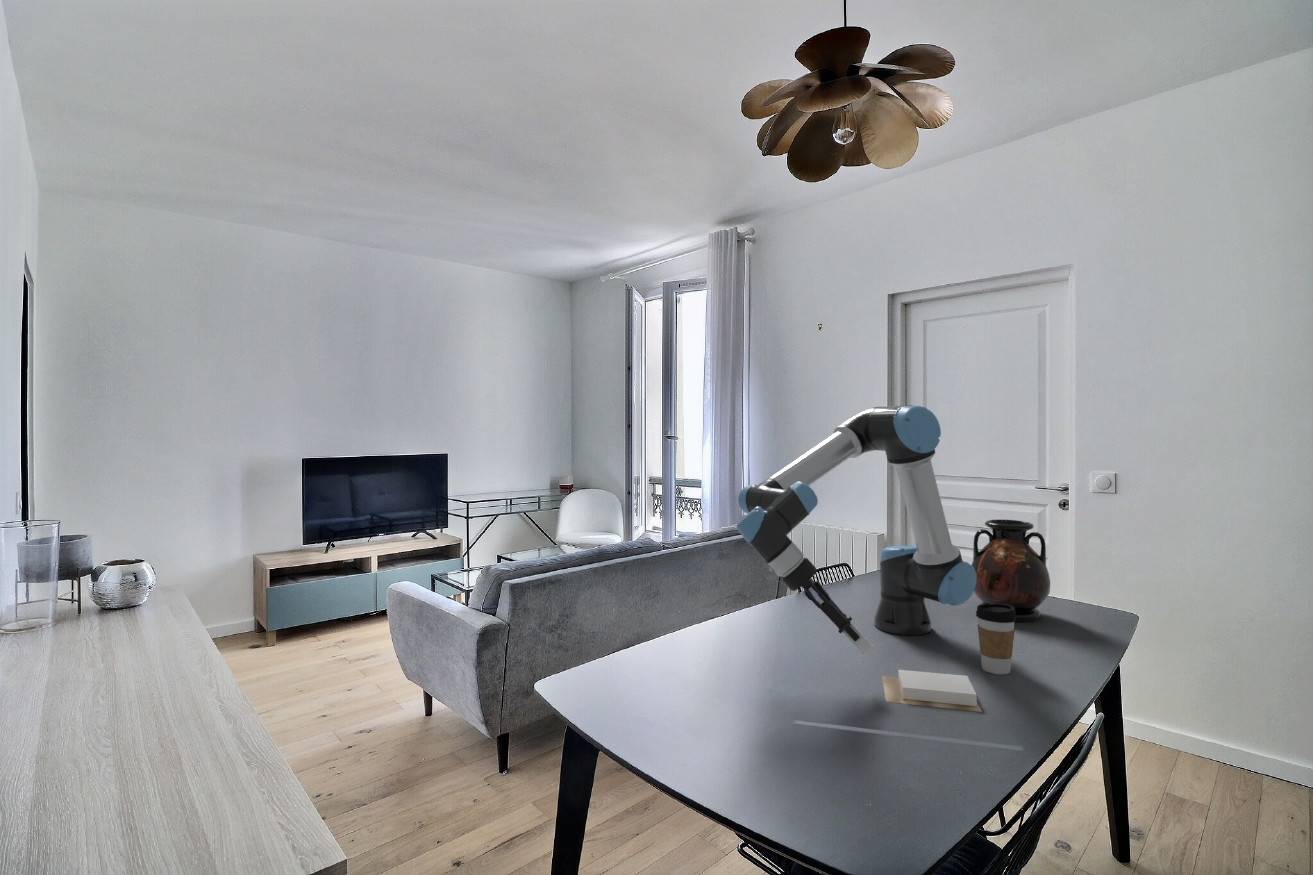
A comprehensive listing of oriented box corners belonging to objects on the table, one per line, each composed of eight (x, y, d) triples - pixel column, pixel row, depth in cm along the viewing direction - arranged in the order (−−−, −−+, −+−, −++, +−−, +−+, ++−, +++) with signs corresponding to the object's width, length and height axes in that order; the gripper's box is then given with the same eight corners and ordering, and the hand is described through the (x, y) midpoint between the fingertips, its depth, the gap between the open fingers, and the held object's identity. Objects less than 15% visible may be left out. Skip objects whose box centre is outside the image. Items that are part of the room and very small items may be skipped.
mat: (885, 704, 133) (885, 701, 133) (881, 678, 146) (881, 676, 146) (981, 714, 128) (981, 711, 128) (968, 686, 141) (968, 684, 141)
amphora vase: (1045, 609, 200) (1045, 519, 199) (1055, 629, 180) (1055, 529, 180) (968, 601, 209) (968, 515, 208) (969, 620, 189) (969, 525, 189)
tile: (902, 687, 134) (976, 694, 130) (898, 669, 143) (967, 675, 140) (902, 699, 134) (976, 707, 130) (898, 680, 144) (967, 687, 140)
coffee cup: (1021, 677, 146) (1022, 612, 146) (981, 675, 148) (981, 610, 148) (1009, 664, 154) (1009, 602, 154) (971, 662, 156) (971, 600, 156)
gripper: (780, 573, 151) (851, 652, 148) (780, 583, 139) (858, 670, 135) (804, 552, 151) (876, 631, 147) (806, 560, 138) (885, 647, 134)
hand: (867, 649), depth 141 cm, fingers closed
